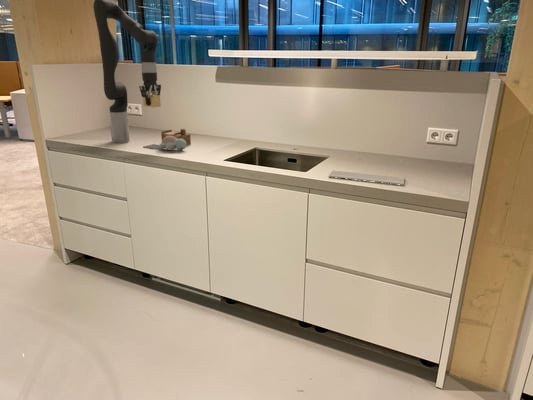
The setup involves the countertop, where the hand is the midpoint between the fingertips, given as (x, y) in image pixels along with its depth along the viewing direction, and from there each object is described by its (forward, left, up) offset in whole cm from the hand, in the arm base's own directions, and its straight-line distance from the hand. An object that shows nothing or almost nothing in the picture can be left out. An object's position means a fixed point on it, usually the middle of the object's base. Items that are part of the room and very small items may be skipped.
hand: (151, 104), depth 218 cm
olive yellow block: (0, 0, -1) cm, 1 cm away
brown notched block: (+4, +13, -23) cm, 27 cm away
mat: (0, 0, -23) cm, 23 cm away
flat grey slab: (+118, +5, -24) cm, 121 cm away
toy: (+13, 0, -23) cm, 27 cm away
